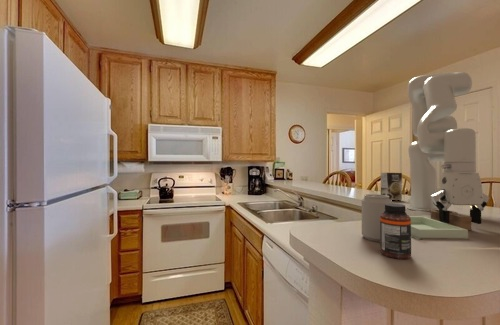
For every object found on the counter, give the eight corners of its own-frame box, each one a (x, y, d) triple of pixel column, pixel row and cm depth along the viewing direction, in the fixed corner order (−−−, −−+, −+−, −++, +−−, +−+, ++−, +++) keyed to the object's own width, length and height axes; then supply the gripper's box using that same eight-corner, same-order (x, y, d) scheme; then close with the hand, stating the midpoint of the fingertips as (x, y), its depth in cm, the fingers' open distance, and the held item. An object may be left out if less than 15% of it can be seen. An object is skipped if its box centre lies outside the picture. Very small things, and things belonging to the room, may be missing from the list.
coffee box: (388, 201, 134) (388, 172, 134) (380, 199, 140) (380, 172, 141) (402, 201, 136) (402, 172, 136) (393, 199, 142) (393, 172, 142)
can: (397, 243, 61) (397, 197, 61) (365, 241, 63) (365, 196, 63) (386, 235, 69) (386, 193, 69) (358, 233, 70) (358, 192, 70)
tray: (384, 224, 82) (384, 216, 82) (423, 224, 81) (423, 216, 81) (419, 239, 64) (419, 229, 65) (468, 240, 64) (468, 229, 64)
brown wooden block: (425, 220, 85) (425, 209, 85) (445, 220, 85) (445, 209, 85) (454, 229, 73) (454, 216, 73) (477, 230, 73) (477, 217, 73)
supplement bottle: (388, 248, 58) (388, 201, 58) (416, 256, 53) (416, 205, 53) (374, 253, 55) (374, 203, 55) (403, 262, 50) (402, 207, 50)
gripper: (441, 168, 72) (441, 225, 71) (499, 168, 71) (500, 226, 71) (423, 168, 79) (423, 219, 79) (476, 168, 79) (476, 220, 79)
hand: (459, 222), depth 75 cm, fingers open, 9 cm apart
